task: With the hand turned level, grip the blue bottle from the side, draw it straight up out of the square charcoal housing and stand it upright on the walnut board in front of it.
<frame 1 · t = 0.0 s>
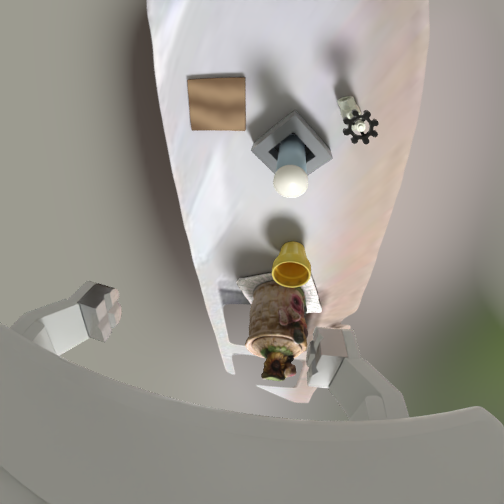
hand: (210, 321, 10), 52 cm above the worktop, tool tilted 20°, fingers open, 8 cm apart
blue bottle: (291, 161, 51), in the housing
cookie jar: (281, 293, 93), on the worktop
board: (217, 103, 52), on the worktop
housing: (292, 145, 57), on the worktop
valve: (348, 110, 49), on the worktop
plant pot: (292, 249, 78), on the worktop
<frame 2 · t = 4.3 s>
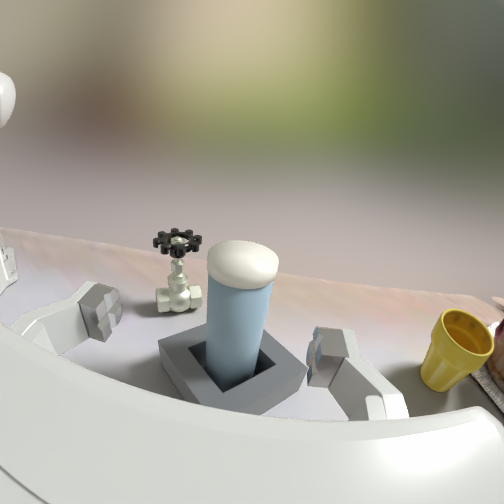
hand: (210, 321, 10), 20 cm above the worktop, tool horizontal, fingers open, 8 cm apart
blue bottle: (234, 331, 26), in the housing
housing: (228, 380, 30), on the worktop
valve: (178, 309, 41), on the worktop
plant pot: (435, 378, 31), on the worktop
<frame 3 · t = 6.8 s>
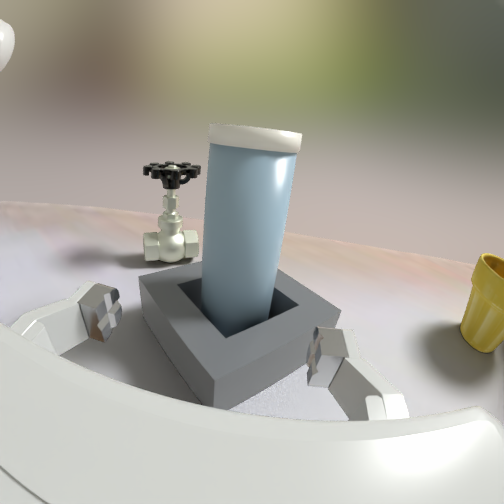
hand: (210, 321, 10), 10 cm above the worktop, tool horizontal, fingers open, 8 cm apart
blue bottle: (241, 249, 20), in the housing
housing: (232, 336, 23), on the worktop
valve: (170, 261, 34), on the worktop
plant pot: (477, 338, 25), on the worktop
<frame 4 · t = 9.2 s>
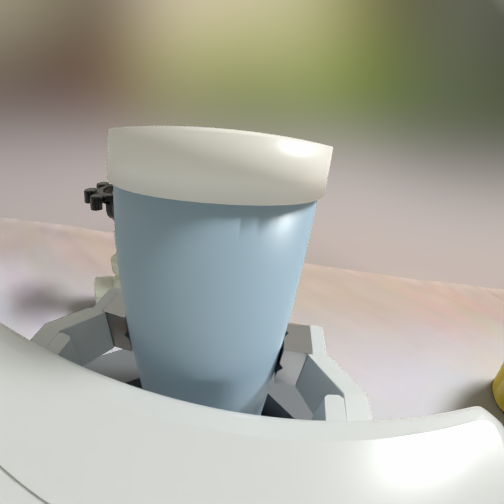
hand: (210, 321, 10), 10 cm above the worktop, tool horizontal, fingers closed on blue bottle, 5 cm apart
blue bottle: (205, 361, 10), in the housing, touching gripper
housing: (205, 442, 14), on the worktop
valve: (133, 311, 25), on the worktop
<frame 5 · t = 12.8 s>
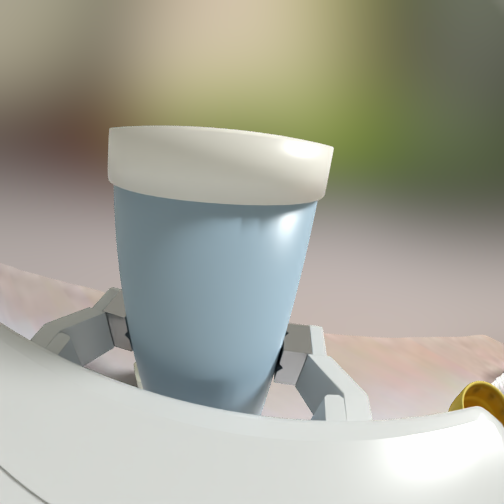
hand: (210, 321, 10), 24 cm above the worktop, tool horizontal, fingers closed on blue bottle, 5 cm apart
blue bottle: (205, 361, 10), point 22 cm above the worktop, touching gripper
plant pot: (445, 447, 23), on the worktop
when the fingers open (12 cm above the worktop, at t = 16.7 s): blue bottle drops 1 cm, resting on board.
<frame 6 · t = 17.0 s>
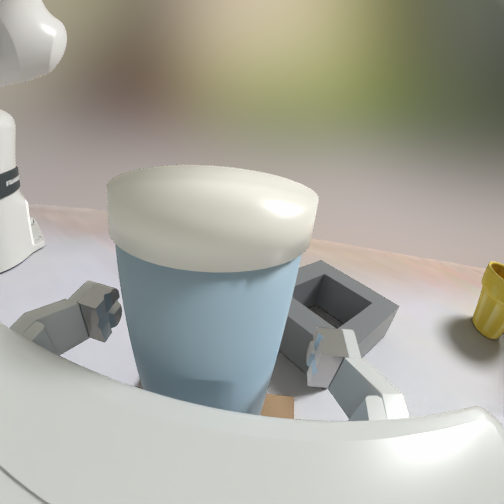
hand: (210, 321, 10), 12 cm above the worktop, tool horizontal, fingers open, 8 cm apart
blue bottle: (204, 381, 11), on the board, point 10 cm above the worktop
board: (205, 454, 15), on the worktop
housing: (318, 329, 29), on the worktop
plant pot: (485, 328, 31), on the worktop
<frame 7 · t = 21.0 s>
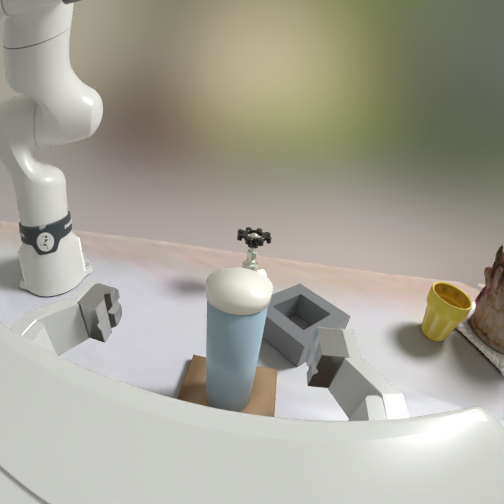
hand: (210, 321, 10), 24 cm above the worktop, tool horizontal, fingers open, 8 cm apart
blue bottle: (232, 351, 27), on the board, point 10 cm above the worktop
cookie jar: (490, 335, 46), on the worktop
board: (227, 400, 31), on the worktop
housing: (296, 330, 46), on the worktop
valve: (247, 288, 56), on the worktop
plant pot: (433, 333, 47), on the worktop
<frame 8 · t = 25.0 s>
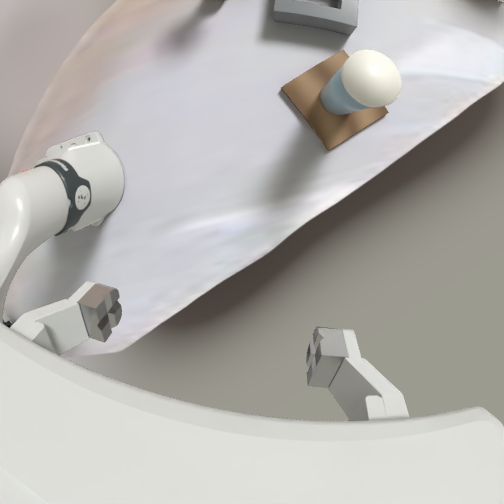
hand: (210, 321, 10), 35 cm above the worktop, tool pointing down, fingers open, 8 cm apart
blue bottle: (351, 89, 27), on the board, point 10 cm above the worktop
board: (336, 98, 35), on the worktop
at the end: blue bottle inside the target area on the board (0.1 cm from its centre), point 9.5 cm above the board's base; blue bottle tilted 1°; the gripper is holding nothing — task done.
